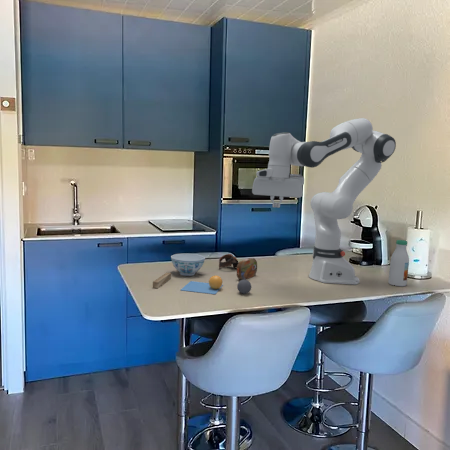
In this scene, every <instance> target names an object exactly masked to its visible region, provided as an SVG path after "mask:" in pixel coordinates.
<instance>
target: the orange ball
mask: <svg viewBox="0 0 450 450" xmlns="http://www.w3.org/2000/svg"><path fill="white" fill-rule="evenodd" d="M208 283H209V286H210V287H211V288H212V289H219V288H220V287H221V286H222V285H223V279H222V278H221V276H219V275H217V274H216V275H212V276H211V277H210V278H209V279H208ZM222 287H223V286H222ZM222 287H221V288H222ZM221 288H220V289H221Z"/></svg>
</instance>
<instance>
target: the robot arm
mask: <svg viewBox="0 0 450 450" xmlns="http://www.w3.org/2000/svg"><path fill="white" fill-rule="evenodd" d="M396 142H397V141H396V139H395V138H394V137H393V136H391V135H390V134H387V133H383V132H381V131H376V130H374V128H373V124H372V123H371V121H370V120H369V119H367V118H365V117H360V118H354V119H350V120H349V119H348V120H346V121H343V122H342V123H339V124H337V125H336V126H333V128H332V129H330V133H329V138H327V139H324V140H322V141H315V140H314V141H313V140H310V141H300V140H298V139H297V138H295V137H294V136H293V135H292V134H291V133H290V132H277V133H274V134H272V136H271V138H270V142H269V148H268V149H269V150H268V158H269V159H268V160H269V161H268V163H267V168H262V169H260V170H258V171H256V177H255V178H254V180H253V183H252V189H251V193H252V194H253V195H254V196H255V195H256V196H268V197H269V196H270V202H271V203H272V208H276V209H277V208H280V207H281V203H282V202H283V200H284V198H298V199H300V198H301V197H303V186H304V184H305V177H304V176H303V175H302V174H300V173H297V174H295V173H290V172H291V166H295V167H306V168H316V167H318V166H320V165H321V164H322V163H323V162H324V161H325V160H326V159H327V158H329V156H332V155H334V154H336V153H338V152H340V151H343V150H347V149H348V150H349V149H352V150H353V151H355V152H357V153H360V154H361V155H360V158H359V159H358V160H356V162H355V163H353V165H352V166H350V167H349V169H347V171H345V172H344V174H342V175H341V177H339V179H338V184H337V185H336V188H335V189H334V190H333V191H332V192H328V191H322V192H318V193H316V194H314V195H313V196H312V197H311V201H310V207H311V209H312V211H313V216H314V224H315V239H314V246H313V248H312V249H313V250H312V259H313V260H312V264H311V268H310V271H309V274H308V278H310V279H312V280H313V281H314V280H315V281H318V282H320V283H323V284H340V285H355V286H356V285H359V284H360V278H359V277H358V276H356V271H355V268H354V266H353V265H352V264H351V263H350V262H349V261H348V260H347V259H346V258H345V256H346V252H345V251H344V250H343V249H341V248H340V247H341V236H342V231H341V228H340V227H339V223H338V220H343V219H346V218H348V217H350V215H352V212H353V209H354V208H353V207H354V203H355V201H356V199H357V197H358V196H360V194H361V193H362V192H363V191H364V190H365V189H366V188H367V186H368V185H370V183H371V182H372V181H374V179H375V177H377V175H378V173H379V172H380V170H381V169H382V166H383V165H382V163H384V162H386V161H388V159H389V158H390V157H392V156H393V154H394V152H395V151H396V147H397V145H396V144H397V143H396ZM275 197H279V198H278V199H279V202H275V200H274V199H275Z"/></svg>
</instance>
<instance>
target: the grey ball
mask: <svg viewBox="0 0 450 450" xmlns="http://www.w3.org/2000/svg"><path fill="white" fill-rule="evenodd" d="M236 285H237V286H236V287H237V288H236V289H237V291H238V292H239V293H241V294H243V295H246V294H248V293H250V292H251V290H252V283H251V282H250V281H249V279H247V280H241V279H240V280H239V281H238V283H237V284H236Z"/></svg>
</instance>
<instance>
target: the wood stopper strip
mask: <svg viewBox="0 0 450 450" xmlns="http://www.w3.org/2000/svg"><path fill="white" fill-rule="evenodd" d="M171 279H172V272H166V273H165V272H164V274H162V275H160V276H159V277H158V278H157V279H155V280H153V281H152V288H153V289H159V288H160V287H162V286H163V285H164V284H166V283H168V281H170V280H171Z"/></svg>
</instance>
